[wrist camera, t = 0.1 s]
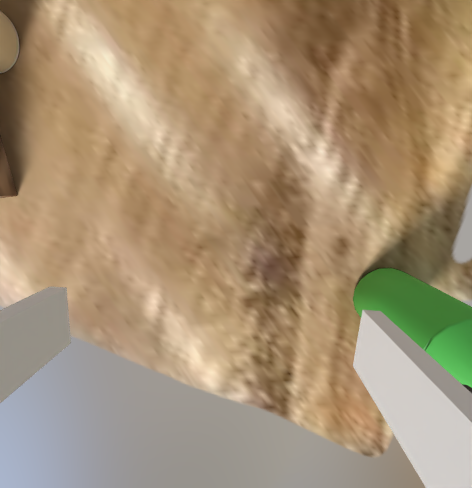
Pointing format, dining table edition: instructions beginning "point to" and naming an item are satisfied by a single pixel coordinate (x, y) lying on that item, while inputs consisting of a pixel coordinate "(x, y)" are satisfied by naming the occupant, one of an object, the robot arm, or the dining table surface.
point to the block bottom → (5, 175)
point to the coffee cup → (7, 43)
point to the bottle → (422, 317)
